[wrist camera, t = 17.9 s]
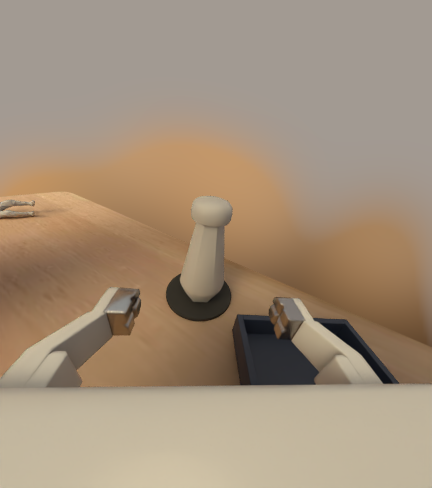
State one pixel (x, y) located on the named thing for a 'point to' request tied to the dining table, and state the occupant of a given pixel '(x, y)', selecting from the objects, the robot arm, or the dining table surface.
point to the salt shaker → (206, 249)
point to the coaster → (196, 309)
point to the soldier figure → (8, 213)
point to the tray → (289, 353)
